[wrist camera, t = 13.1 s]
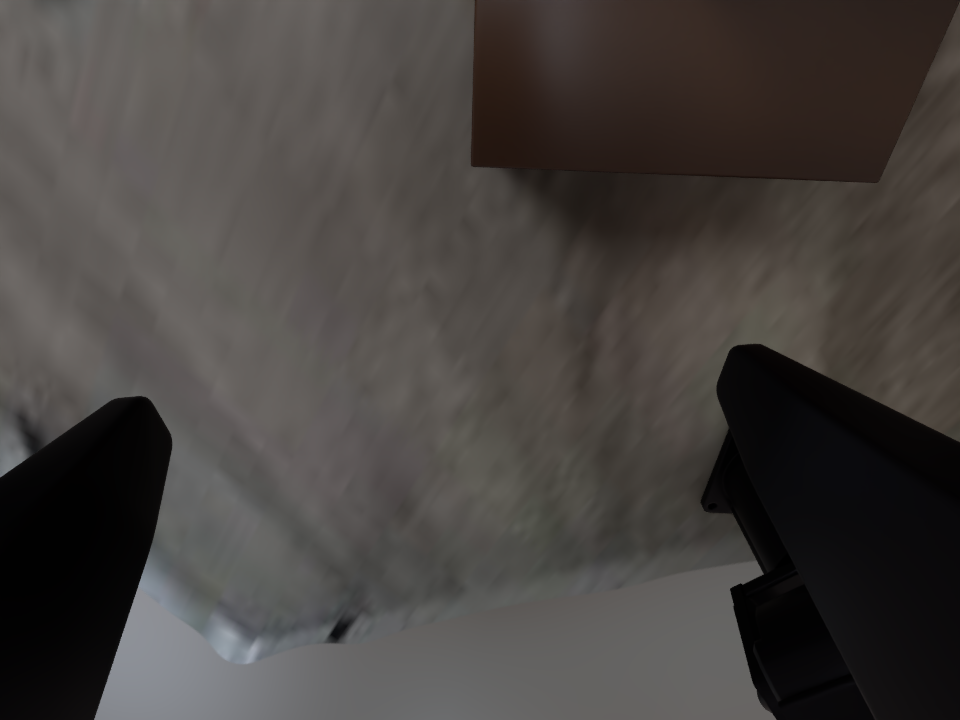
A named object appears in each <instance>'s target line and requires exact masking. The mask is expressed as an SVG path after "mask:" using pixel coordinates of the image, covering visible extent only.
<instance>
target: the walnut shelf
mask: <svg viewBox="0 0 960 720" xmlns="http://www.w3.org/2000/svg"><path fill="white" fill-rule="evenodd" d="M959 2H960V0H475V22H474V61H473V101H472V141H471V166H473V167H490V168H515V169H540V170H565V171H590V172H615V173H640V174H665V175H690V176H715V177H740V178H765V179H790V180H815V181H840V182H865V183H877V182H879V180H880V178H881V176H882V174H883V171H884V169H885V167H886V165H887V162H888V160H889V158H890V156H891V153H892V151H893V149H894V147H895V145H896V142H897V140H898V138H899V136H900V133H901V131H902V129H903V127H904V124H905V122H906V120H907V118H908V116H909V113H910V111H911V109H912V107H913V104H914V102H915V100H916V98H917V95H918V93H919V91H920V89H921V87H922V84H923V82H924V80H925V78H926V75H927V73H928V71H929V69H930V66H931V64H932V62H933V60H934V58H935V55H936V53H937V51H938V49H939V46H940V44H941V42H942V40H943V37H944V35H945V33H946V31H947V28H948V26H949V24H950V22H951V20H952V17H953V15H954V13H955V11H956V8H957V6H958V4H959Z"/></svg>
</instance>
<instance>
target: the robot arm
mask: <svg viewBox="0 0 960 720" xmlns="http://www.w3.org/2000/svg"><path fill="white" fill-rule="evenodd" d="M717 396H718V400H719V402H720V405H721V407H722V410H723V413H724V415H725V418H726V420H727V423H728V425H729V430H728V433H727V435H726V438H725V440H724V443H723V445H722V448H721V451H720V453H719V456H718V458H717V461H716V463H715V466H714V468H713V471H712V473H711V476H710V478H709V481H708V484H707V486H706V489H705V491H704V494H703V496H702V499H701V505H702V507H703V509H704V511H706V512H713V513H733V515H734V517H735V519H736V521H737V523H738V525H739V527H740V529H741V531H742V532H743V534H744V536H745V538H746V540H747V542H748V544H749V546H750V548H751V550H752V552H753V554H754V556H755V558H756V560H757V562H758V564H759V566H760V567H761V570H762V571H763V573H764V575H762V576H760V577H757V578H756V579H753V580H751V581H749V582H747V583H745V584H743V585H742V584H738V585H736V586H734V587H732V588H731V589H730V591H731V595H732V599H733V603H734V612H735V616H736V619H737V623H738V627H739V631H740V635H741V639H742V643H743V647H744V651H745V654H746V658H747V662H748V666H749V670H750V674H751V678H752V681H753V684H754V686H755V688H756V689H757V695H758V699H759V701H760V703H761V704H762V706H763V707H764V708H765V709H766V710H768V711H770V712H771V713H773V715H774V716H775V718H776V719H777V720H960V442H958V441H956V440H954V439H952V438H950V437H948V436H946V435H944V434H942V433H940V432H938V431H936V430H934V429H931V428H929V427H927V426H925V425H923V424H921V423H919V422H917V421H915V420H913V419H911V418H909V417H907V416H905V415H903V414H901V413H899V412H897V411H895V410H893V409H891V408H889V407H887V406H885V405H883V404H881V403H879V402H877V401H875V400H873V399H871V398H869V397H867V396H865V395H863V394H861V393H859V392H857V391H855V390H853V389H851V388H849V387H847V386H845V385H843V384H841V383H839V382H837V381H835V380H832V379H830V378H828V377H826V376H824V375H822V374H820V373H818V372H816V371H814V370H812V369H810V368H808V367H806V366H804V365H802V364H800V363H798V362H796V361H794V360H792V359H790V358H788V357H786V356H784V355H782V354H780V353H778V352H776V351H774V350H772V349H770V348H768V347H766V346H764V345H761V344H746V345H737V346H734V347H733V348H732V349H731V350H730V351H729V353H728V356H727V358H726V361H725V363H724V366H723V369H722V371H721V374H720V377H719V379H718V382H717ZM171 451H172V438H171V434H170V432H169V430H168V428H167V427H166V425H165V423H164V422H163V420H162V418H161V417H160V415H159V413H158V411H157V410H156V408H155V406H154V405H153V403H152V402H151V400H149V399H148V398H146V397H143V396H135V397H124V398H117V399H114V400H111V401H110V402H108V403H107V404H105V405H104V406H103V407H101V408H100V409H98V410H97V411H95V412H94V413H93V414H91V415H90V416H88V417H87V418H85V419H84V420H82V421H81V422H80V423H78V424H77V425H75V426H74V427H72V428H71V429H69V430H68V431H67V432H65V433H64V434H62V435H61V436H59V437H58V438H57V439H55V440H54V441H52V442H51V443H49V444H48V445H46V446H45V447H44V448H42V449H41V450H39V451H38V452H36V453H35V454H33V455H32V456H31V457H29V458H28V459H26V460H25V461H23V462H22V463H20V464H19V465H18V466H16V467H15V468H13V469H12V470H10V471H9V472H8V473H6V474H5V475H3V476H2V477H0V720H94V718H95V715H96V712H97V709H98V706H99V703H100V700H101V697H102V694H103V691H104V688H105V685H106V682H107V679H108V676H109V673H110V670H111V667H112V664H113V661H114V658H115V655H116V652H117V649H118V646H119V643H120V639H121V637H122V633H123V631H124V628H125V624H126V621H127V618H128V615H129V612H130V609H131V606H132V603H133V600H134V597H135V594H136V591H137V588H138V585H139V582H140V579H141V576H142V573H143V570H144V567H145V564H146V561H147V558H148V555H149V551H150V548H151V545H152V541H153V537H154V533H155V529H156V525H157V520H158V515H159V510H160V505H161V500H162V495H163V490H164V486H165V481H166V476H167V471H168V466H169V461H170V456H171Z"/></svg>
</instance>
